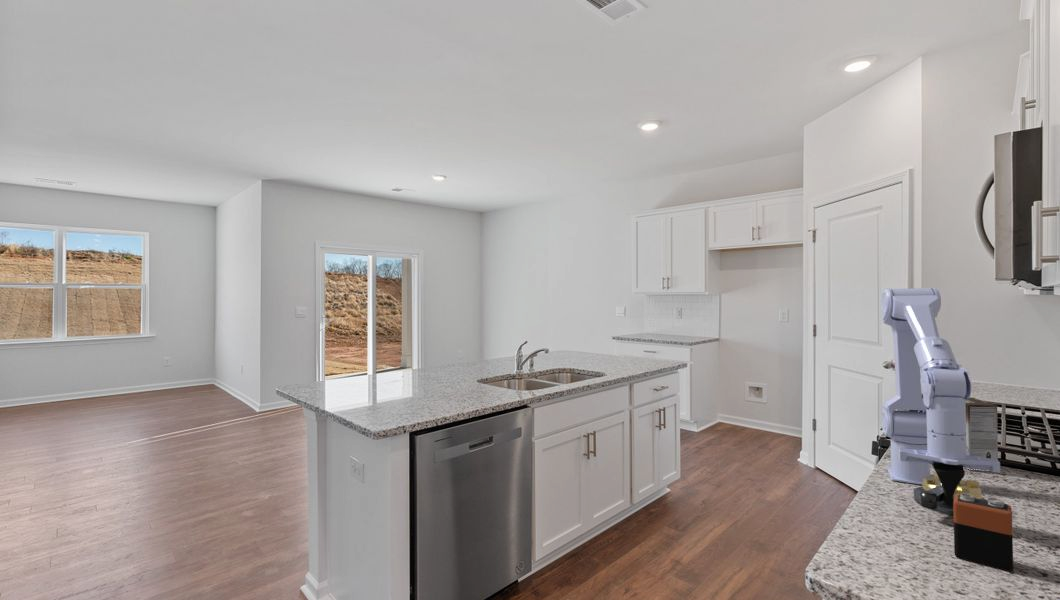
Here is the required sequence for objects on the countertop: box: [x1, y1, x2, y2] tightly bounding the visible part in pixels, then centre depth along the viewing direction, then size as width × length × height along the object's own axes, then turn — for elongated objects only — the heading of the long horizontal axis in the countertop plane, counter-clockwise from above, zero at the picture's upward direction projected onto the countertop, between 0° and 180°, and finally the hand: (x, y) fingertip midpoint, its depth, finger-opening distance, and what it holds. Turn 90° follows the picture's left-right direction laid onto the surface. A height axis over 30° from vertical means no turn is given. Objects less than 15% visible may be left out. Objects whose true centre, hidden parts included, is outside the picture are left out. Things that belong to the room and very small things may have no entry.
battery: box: [953, 493, 1014, 572], centre depth 78 cm, size 4×7×10 cm, turn 47°
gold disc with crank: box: [919, 471, 983, 510], centre depth 97 cm, size 17×9×4 cm, turn 123°
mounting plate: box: [913, 486, 987, 517], centre depth 99 cm, size 12×12×2 cm
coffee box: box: [964, 397, 999, 470], centre depth 121 cm, size 9×6×16 cm
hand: (948, 503), depth 93 cm, fingers closed, pressing on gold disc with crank
